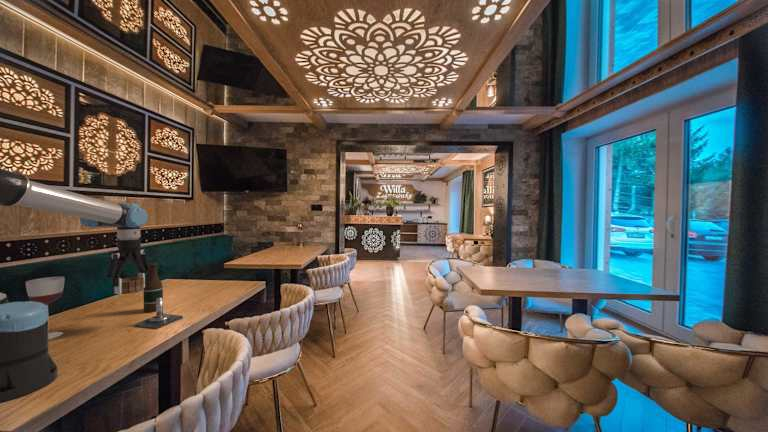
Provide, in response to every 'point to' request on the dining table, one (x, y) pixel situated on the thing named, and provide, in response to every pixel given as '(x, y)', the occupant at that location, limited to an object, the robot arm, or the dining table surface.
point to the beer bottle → (152, 289)
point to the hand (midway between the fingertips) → (130, 290)
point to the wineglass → (46, 293)
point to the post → (159, 317)
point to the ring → (132, 285)
